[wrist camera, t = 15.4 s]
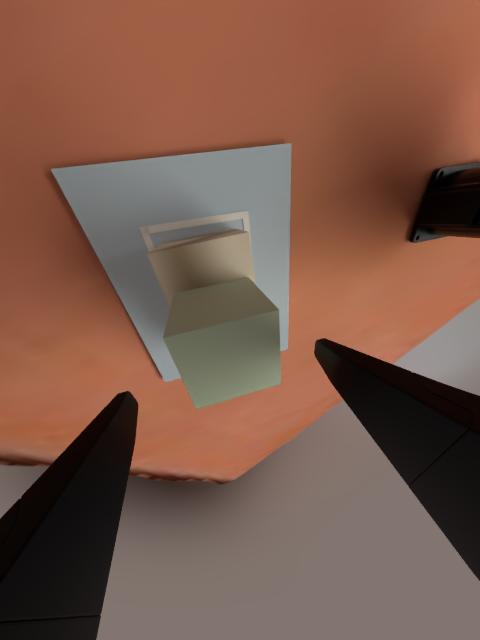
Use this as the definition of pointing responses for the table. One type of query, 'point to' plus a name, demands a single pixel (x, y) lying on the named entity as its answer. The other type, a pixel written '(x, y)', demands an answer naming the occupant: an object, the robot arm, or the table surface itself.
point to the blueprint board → (183, 223)
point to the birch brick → (202, 261)
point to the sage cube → (224, 341)
